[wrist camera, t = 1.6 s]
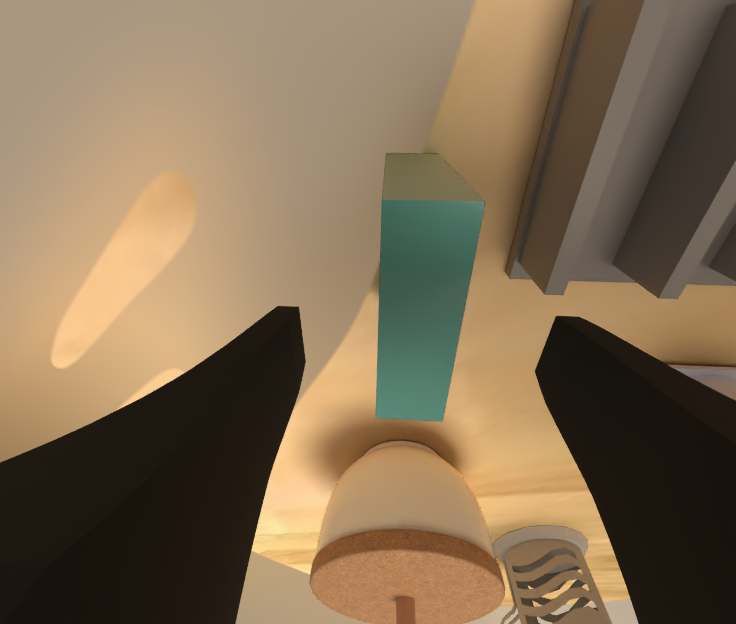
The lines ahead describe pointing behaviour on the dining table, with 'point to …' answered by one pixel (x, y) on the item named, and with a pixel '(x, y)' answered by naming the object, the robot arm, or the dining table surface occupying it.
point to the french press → (549, 575)
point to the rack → (636, 151)
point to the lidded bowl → (405, 542)
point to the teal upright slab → (422, 282)
